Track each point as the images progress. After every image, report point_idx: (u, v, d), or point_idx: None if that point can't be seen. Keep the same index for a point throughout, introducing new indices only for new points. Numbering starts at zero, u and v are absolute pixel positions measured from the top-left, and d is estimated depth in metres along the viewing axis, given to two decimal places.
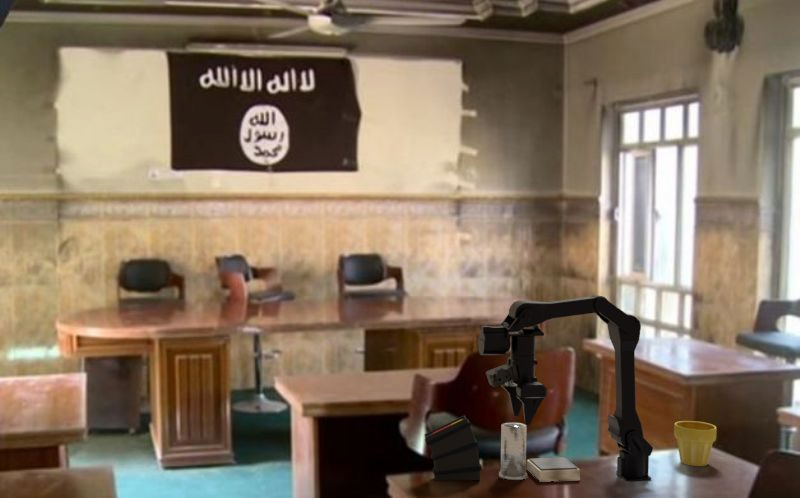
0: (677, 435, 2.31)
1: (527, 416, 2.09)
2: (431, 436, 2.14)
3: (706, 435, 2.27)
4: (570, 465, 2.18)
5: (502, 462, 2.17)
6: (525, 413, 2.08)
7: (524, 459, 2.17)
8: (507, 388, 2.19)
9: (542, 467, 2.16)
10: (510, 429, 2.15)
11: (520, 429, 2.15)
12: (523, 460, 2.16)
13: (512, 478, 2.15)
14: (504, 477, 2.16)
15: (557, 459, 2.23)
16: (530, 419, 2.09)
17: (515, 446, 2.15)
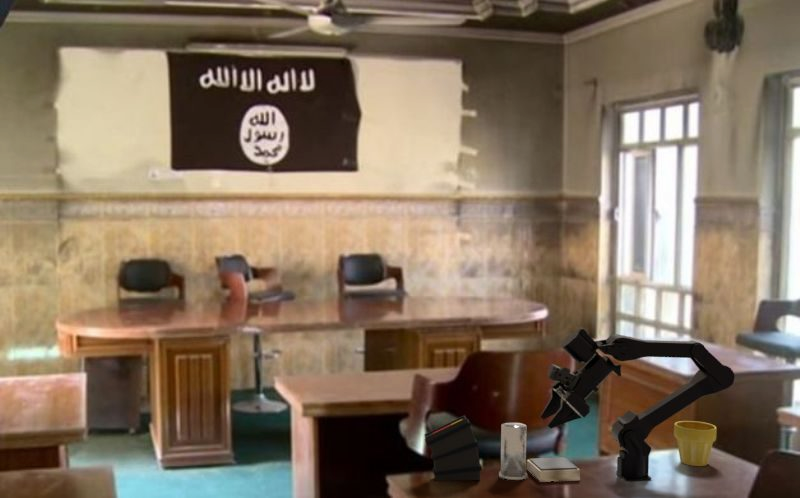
0: (677, 436, 2.31)
1: (555, 420, 2.13)
2: (431, 436, 2.14)
3: (706, 435, 2.27)
4: (570, 465, 2.18)
5: (502, 462, 2.17)
6: (555, 416, 2.12)
7: (524, 459, 2.17)
8: (554, 392, 2.23)
9: (542, 467, 2.16)
10: (510, 429, 2.15)
11: (520, 429, 2.15)
12: (523, 460, 2.16)
13: (512, 478, 2.15)
14: (504, 477, 2.16)
15: (557, 459, 2.23)
16: (555, 425, 2.13)
17: (515, 446, 2.15)
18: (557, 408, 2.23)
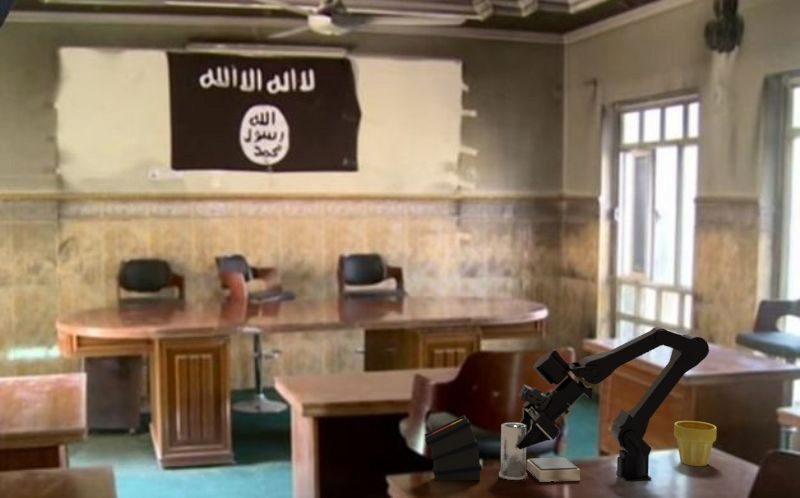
0: (677, 435, 2.31)
1: (524, 441, 2.13)
2: (431, 436, 2.14)
3: (706, 435, 2.27)
4: (570, 465, 2.18)
5: (502, 462, 2.17)
6: (525, 437, 2.13)
7: (524, 459, 2.17)
8: (525, 413, 2.23)
9: (542, 467, 2.16)
10: (510, 429, 2.15)
11: (520, 429, 2.15)
12: (523, 460, 2.16)
13: (512, 478, 2.15)
14: (504, 477, 2.16)
15: (557, 459, 2.23)
16: (524, 446, 2.13)
17: (515, 446, 2.15)
18: (528, 428, 2.23)
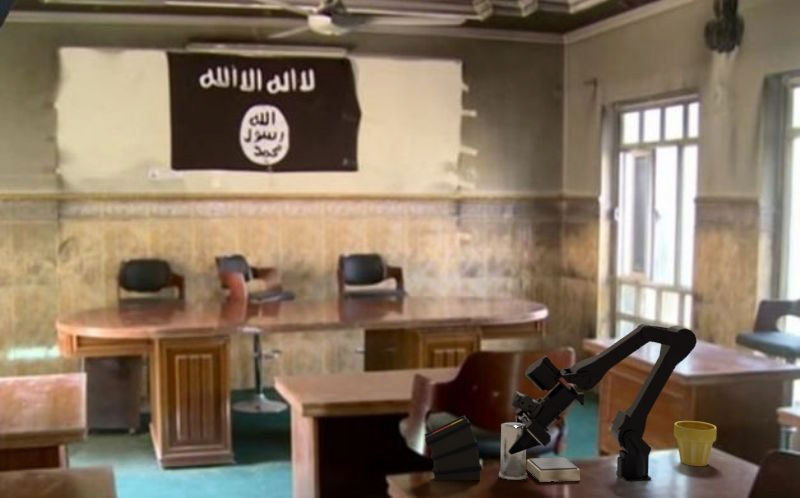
0: (677, 435, 2.31)
1: (515, 446, 2.14)
2: (431, 436, 2.14)
3: (706, 435, 2.27)
4: (570, 465, 2.18)
5: (502, 462, 2.17)
6: (516, 443, 2.14)
7: (524, 459, 2.17)
8: (518, 420, 2.22)
9: (542, 467, 2.16)
10: (510, 429, 2.15)
11: (520, 429, 2.15)
12: (523, 460, 2.16)
13: (512, 478, 2.15)
14: (504, 477, 2.16)
15: (557, 459, 2.23)
16: (515, 451, 2.14)
17: None
18: None
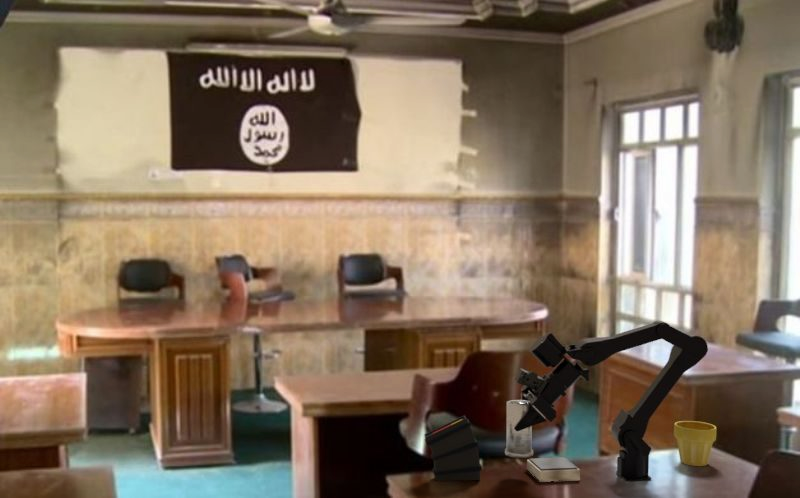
0: (677, 435, 2.31)
1: (521, 423, 2.14)
2: (431, 436, 2.14)
3: (706, 435, 2.27)
4: (570, 465, 2.18)
5: (508, 439, 2.17)
6: (522, 419, 2.14)
7: (530, 436, 2.17)
8: (524, 398, 2.22)
9: (542, 467, 2.16)
10: (515, 406, 2.15)
11: (525, 406, 2.15)
12: (529, 437, 2.16)
13: (518, 455, 2.15)
14: (510, 454, 2.16)
15: (557, 459, 2.23)
16: (521, 428, 2.14)
17: None
18: None
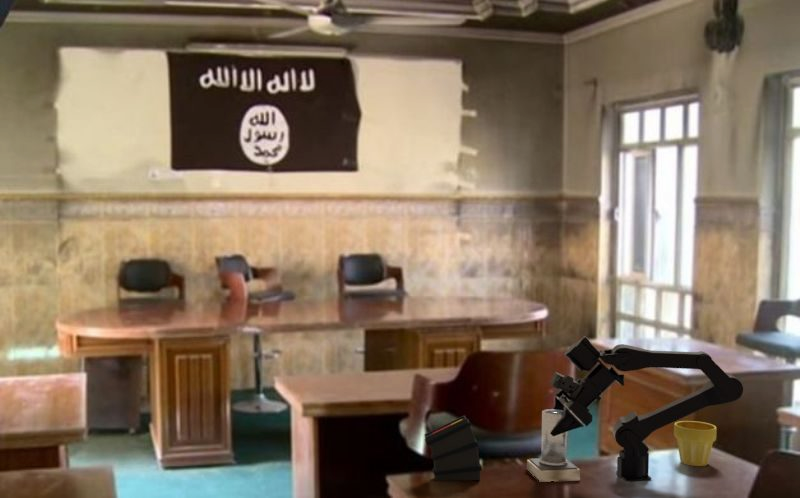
0: (677, 435, 2.31)
1: (557, 428, 2.14)
2: (431, 436, 2.14)
3: (706, 435, 2.27)
4: (570, 465, 2.18)
5: (543, 448, 2.19)
6: (558, 424, 2.14)
7: (565, 445, 2.18)
8: (557, 400, 2.25)
9: (542, 467, 2.16)
10: (551, 415, 2.17)
11: (561, 415, 2.17)
12: (564, 446, 2.18)
13: (553, 464, 2.17)
14: (545, 463, 2.18)
15: None
16: (557, 432, 2.15)
17: None
18: None
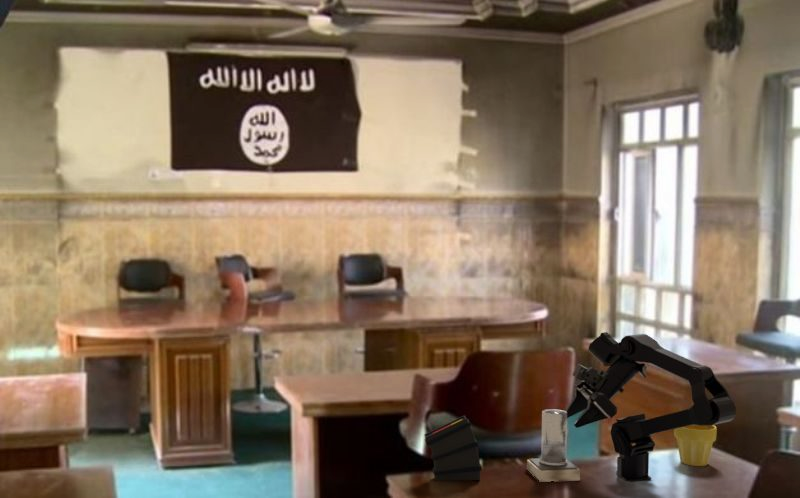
0: (677, 435, 2.31)
1: (581, 420, 2.15)
2: (431, 436, 2.14)
3: (706, 435, 2.27)
4: (570, 465, 2.18)
5: (543, 448, 2.19)
6: (582, 416, 2.15)
7: (565, 445, 2.18)
8: (578, 391, 2.26)
9: (542, 467, 2.16)
10: (551, 415, 2.17)
11: (561, 415, 2.17)
12: (564, 446, 2.18)
13: (553, 464, 2.17)
14: (545, 463, 2.18)
15: None
16: (581, 424, 2.16)
17: (556, 433, 2.17)
18: (580, 407, 2.26)
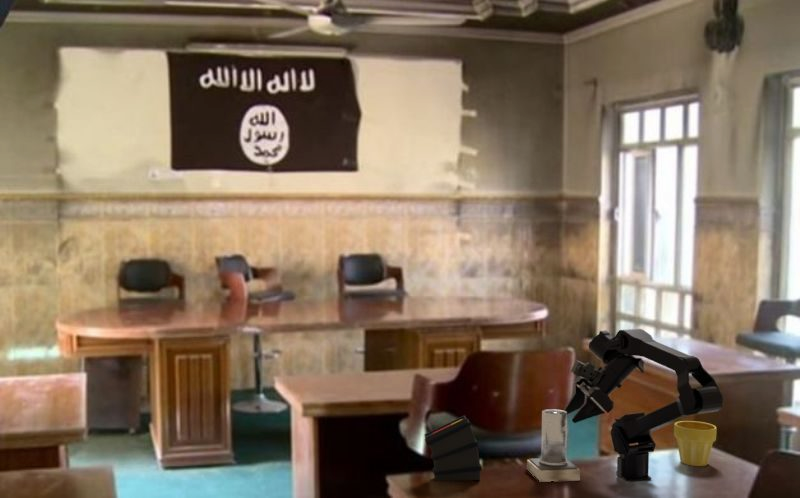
0: (677, 435, 2.31)
1: (578, 415, 2.17)
2: (431, 436, 2.14)
3: (706, 435, 2.27)
4: (570, 465, 2.18)
5: (543, 448, 2.19)
6: (579, 411, 2.17)
7: (565, 445, 2.18)
8: (577, 388, 2.27)
9: (542, 467, 2.16)
10: (551, 415, 2.17)
11: (561, 415, 2.17)
12: (564, 446, 2.18)
13: (553, 464, 2.17)
14: (545, 463, 2.18)
15: None
16: (578, 419, 2.17)
17: (556, 433, 2.17)
18: (580, 404, 2.27)
